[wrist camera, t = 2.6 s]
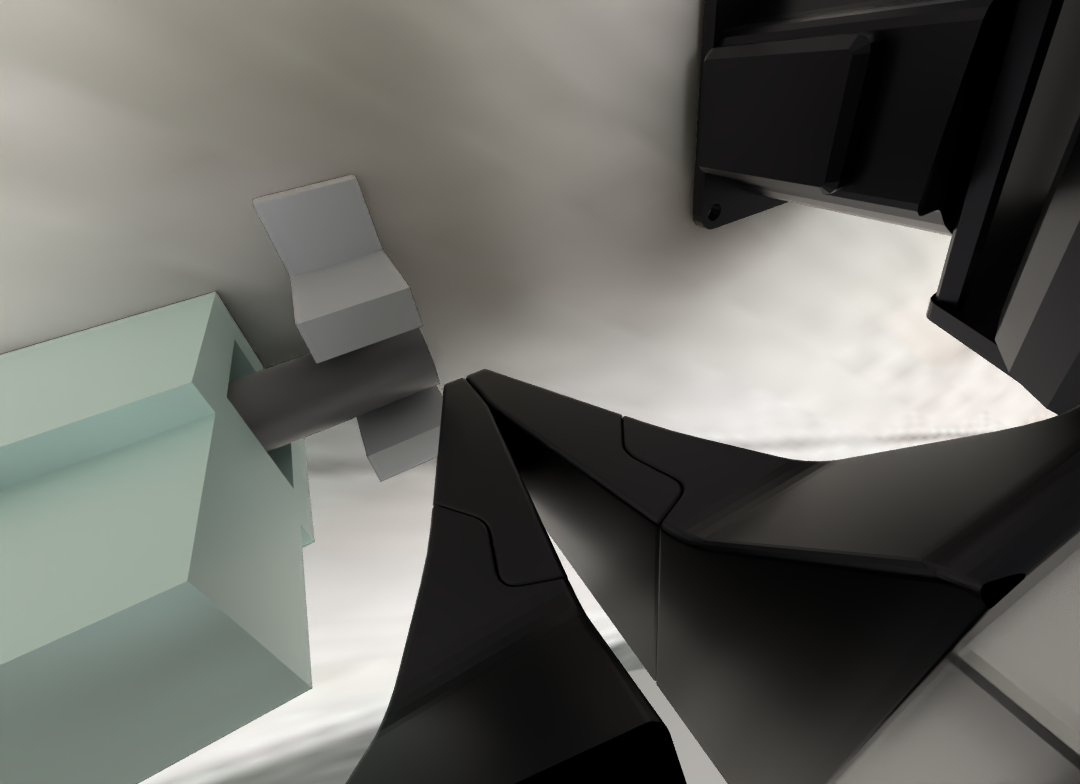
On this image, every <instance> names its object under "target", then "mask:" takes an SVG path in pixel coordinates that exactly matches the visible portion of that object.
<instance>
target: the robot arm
mask: <svg viewBox="0 0 1080 784" xmlns="http://www.w3.org/2000/svg"><path fill="white" fill-rule="evenodd" d="M787 202H793V203H798V204H803V205H807V206H812V207H817V208H822V209H826V210H831V211H836V212H840V213H845V214H850V215H855V216H859V217H864V218H869V219H874V220H878V221H883V222H888V223H892V224H897V225H902V226H907V227H911V228H916V229H921V230H926V231H930V232H935V233H940V234H945V235H949V236H952V238H951V242H950V245H949V249H948V253H947V257H946V260H945V264H944V268H943V271H942V275H941V279H940V282H939V286H938V290H937V292H936V293H935V294H934V295H933V296H932V297H931V299H930V302H929V306H928V310H927V314H926V316H927V318H928V319H929V320H930V321H932V322H933V323H934V324H936V325H937V326H939V327H940V328H942V329H943V330H944V331H946V332H947V333H949V334H950V335H952V336H953V337H954V338H956V339H957V340H959V341H960V342H962V343H963V344H964V345H966V346H967V347H969V348H970V349H972V350H973V351H974V352H976V353H977V354H979V355H980V356H982V357H983V358H985V359H986V360H987V361H989V362H990V363H992V364H993V365H995V366H996V367H997V368H999V369H1000V370H1002V371H1003V372H1005V373H1006V374H1007V375H1009V376H1010V377H1012V378H1013V379H1015V380H1016V381H1017V382H1019V383H1020V384H1021V385H1022V386H1023V387H1024V388H1026V389H1027V390H1028V391H1029V392H1030V393H1031V394H1032V395H1033V396H1034V397H1035V398H1036V399H1037V400H1038V401H1039V402H1040V403H1041V404H1042V405H1043V406H1045V407H1046V408H1047V409H1049V410H1050V411H1052V412H1054V413H1056V414H1058V416H1055V417H1052V418H1049V419H1046V420H1043V421H1039V422H1035V423H1031V424H1027V425H1024V426H1019V427H1015V428H1010V429H1005V430H1000V431H995V432H990V433H984V434H979V435H973V436H968V437H962V438H957V439H951V440H946V441H940V442H935V443H929V444H924V445H918V446H913V447H907V448H901V449H896V450H890V451H885V452H879V453H874V454H868V455H863V456H857V457H852V458H846V459H840V460H832V461H802V460H793V459H788V458H783V457H778V456H774V455H769V454H765V453H761V452H757V451H753V450H748V449H744V448H740V447H736V446H732V445H727V444H723V443H719V442H715V441H711V440H706V439H702V438H698V437H694V436H691V435H687V434H683V433H679V432H675V431H671V430H668V429H665V428H662V427H658V426H655V425H652V424H649V423H645V422H642V421H639V420H636V419H633V418H630V417H627V416H624V417H622V415H621V414H618V413H615V412H612V411H609V410H606V409H603V408H600V407H597V406H594V405H591V404H588V403H585V402H582V401H579V400H576V399H573V398H570V397H567V396H564V395H561V394H558V393H556V392H553V391H550V390H547V389H544V388H541V387H538V386H535V385H532V384H529V383H526V382H523V381H520V380H517V379H514V378H511V377H508V376H505V375H502V374H499V373H496V372H493V371H490V370H487V369H483V370H480V371H478V372H475V373H473V374H470V375H468V376H467V377H466V379H465V378H460V379H458V380H455V381H453V382H450V383H448V384H446V385H445V386H444V391H443V402H442V412H441V423H440V434H439V445H438V456H437V466H436V477H435V488H434V499H433V506H434V507H433V509H432V518H431V528H430V535H429V542H428V550H427V556H426V560H425V565H424V570H423V574H422V579H421V584H420V588H419V592H418V596H417V600H416V604H415V608H414V612H413V616H412V620H411V624H410V628H409V632H408V636H407V640H406V644H405V648H404V652H403V656H402V660H401V664H400V668H399V672H398V676H397V680H396V683H395V687H394V691H393V694H392V697H391V700H390V703H389V706H388V708H387V711H386V713H385V716H384V718H383V721H382V723H381V725H380V727H379V729H378V731H377V733H376V735H375V737H374V739H373V740H372V742H371V744H370V746H369V747H368V749H367V750H366V752H365V753H364V755H363V757H362V758H361V760H360V761H359V763H358V765H357V766H356V768H355V769H354V771H353V773H352V774H351V776H350V777H349V779H348V781H347V782H346V784H687V783H686V780H685V777H684V774H683V771H682V768H681V765H680V762H679V760H678V756H677V753H676V750H675V747H674V744H673V741H672V738H671V735H670V732H669V730H668V728H667V727H666V726H665V724H664V722H663V721H662V720H661V718H660V717H659V716H658V714H657V713H656V711H655V710H654V709H653V707H652V706H651V704H650V703H649V702H648V700H647V699H646V698H645V696H644V695H643V693H642V692H641V690H640V689H639V688H638V687H637V685H636V683H635V682H634V681H633V679H632V678H631V677H630V675H629V674H628V672H627V671H626V670H625V668H624V667H623V665H622V664H621V663H620V661H619V660H618V658H617V657H616V656H615V654H614V653H613V651H612V650H611V649H610V647H609V646H608V644H607V643H606V642H605V640H604V639H603V638H602V636H601V635H600V633H599V632H598V631H597V629H596V628H595V626H594V625H593V624H592V622H591V621H590V619H589V618H588V616H587V615H586V613H585V611H584V609H583V608H582V606H581V604H580V602H579V600H578V598H577V596H576V594H575V592H574V590H573V588H572V586H571V584H570V582H569V581H568V577H567V575H566V573H565V570H564V568H563V566H562V564H561V562H560V560H559V557H558V555H557V553H556V551H555V549H554V547H553V544H552V542H551V540H550V538H549V536H548V533H549V535H550V536H551V537H552V539H553V540H554V542H555V543H556V544H557V546H558V547H559V549H560V550H561V551H562V553H563V554H564V556H565V557H566V558H567V560H568V561H569V562H570V564H571V565H572V567H573V568H574V569H575V571H576V572H577V574H578V575H579V576H580V578H581V579H582V581H583V582H584V583H585V585H586V586H587V588H588V589H589V590H590V592H591V593H592V595H593V596H594V597H595V599H596V600H597V602H598V603H599V604H600V606H601V607H602V609H603V610H604V611H605V613H606V614H607V616H608V617H609V618H610V620H611V621H612V623H613V624H614V625H615V627H616V628H617V630H618V631H619V632H620V634H621V635H622V636H623V638H624V639H625V641H626V642H627V643H628V645H629V646H630V648H631V649H632V650H633V652H634V653H635V655H636V656H637V657H638V659H639V660H640V662H641V663H642V664H643V666H644V667H645V669H646V670H647V671H648V673H649V674H650V676H651V677H652V678H653V680H655V681H656V683H657V686H658V687H659V688H660V690H661V691H662V693H663V694H664V695H665V697H666V698H667V700H668V701H669V702H670V704H671V705H672V706H673V708H674V709H675V711H676V712H677V714H678V715H679V716H680V718H681V719H682V721H683V722H684V723H685V725H686V726H687V728H688V729H689V730H690V732H691V733H692V734H693V736H694V737H695V739H696V740H697V741H698V743H699V744H700V746H701V747H702V748H703V750H704V751H705V753H706V754H707V755H708V757H709V758H710V760H711V761H712V762H713V764H714V765H715V767H716V768H717V769H718V771H719V772H720V774H721V775H722V776H723V778H724V779H725V781H726V782H727V783H728V784H1080V0H705V3H704V21H703V39H702V56H701V74H700V92H699V109H698V127H697V144H696V162H695V180H694V197H693V221H694V223H695V224H696V225H697V226H699V227H703V228H706V229H714V228H717V227H720V226H722V225H725V224H728V223H731V222H734V221H736V220H739V219H742V218H745V217H748V216H750V215H753V214H756V213H759V212H761V211H764V210H767V209H770V208H773V207H775V206H778V205H781V204H784V203H787ZM711 207H712V208H711ZM710 208H711V212H710V214H709V215H708V212H709V210H710ZM546 530H547V531H546ZM547 532H548V533H547Z"/></svg>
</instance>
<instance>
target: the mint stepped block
mask: <svg viewBox="0 0 1080 784" xmlns="http://www.w3.org/2000/svg"><path fill="white" fill-rule="evenodd" d="M263 369H264V367H263V365H262V364H261V362H260V361H259V359H258V357H257V356H256V354H255V353H254V351H253V350H252V348H251V346H250V345H249V343H248V342H247V340H246V338H245V337H244V335H243V334H242V332H241V331H240V329H239V327H238V326H237V324H236V323H235V321H234V319H233V318H232V316H231V315H230V313H229V312H228V310H227V308H226V307H225V305H224V304H223V302H222V300H221V299H220V297H219V296H218V294H217V293H216V292H212V293H209V294H206V295H202V296H199V297H195V298H192V299H189V300H185V301H182V302H178V303H175V304H172V305H168V306H165V307H161V308H158V309H155V310H151V311H148V312H144V313H141V314H138V315H134V316H131V317H127V318H124V319H120V320H117V321H114V322H110V323H107V324H103V325H100V326H97V327H93V328H90V329H86V330H83V331H80V332H76V333H73V334H69V335H66V336H63V337H59V338H56V339H52V340H49V341H46V342H42V343H39V344H35V345H32V346H29V347H25V348H22V349H18V350H15V351H12V352H8V353H5V354H1V355H0V784H138V783H140V782H142V781H144V780H145V779H147V778H149V777H151V776H153V775H155V774H156V773H158V772H160V771H162V770H164V769H166V768H167V767H169V766H171V765H173V764H175V763H177V762H178V761H180V760H182V759H184V758H186V757H188V756H189V755H191V754H193V753H195V752H197V751H198V750H200V749H202V748H204V747H206V746H208V745H209V744H211V743H213V742H215V741H217V740H219V739H220V738H222V737H224V736H226V735H228V734H230V733H231V732H233V731H235V730H237V729H239V728H240V727H242V726H244V725H246V724H248V723H250V722H251V721H253V720H255V719H257V718H259V717H261V716H262V715H264V714H266V713H268V712H270V711H272V710H273V709H275V708H277V707H279V706H281V705H283V704H284V703H286V702H288V701H290V700H292V699H293V698H295V697H297V696H299V695H301V694H303V693H304V692H306V691H308V690H310V689H312V677H311V663H310V649H309V635H308V621H307V607H306V593H305V580H304V566H303V552H302V547H304V546H307V545H309V544H311V543H313V542H314V532H313V522H312V512H311V502H310V492H309V482H308V472H307V462H306V452H305V442H304V438H302V439H299V440H297V441H294V442H292V443H289V444H286V445H284V446H281V447H279V448H276V449H274V450H271V451H269V452H266V450H265V449H264V448H263V446H262V445H261V444H260V442H259V441H258V439H257V438H256V437H255V435H254V434H253V433H252V431H251V430H250V428H249V427H248V426H247V424H246V423H245V422H244V420H243V419H242V417H241V416H240V415H239V413H238V412H237V411H236V409H235V408H234V406H233V405H232V404H231V402H230V401H229V400H228V398H227V390H228V383H229V381H231V380H234V379H237V378H240V377H243V376H246V375H249V374H252V373H255V372H257V371H260V370H263Z"/></svg>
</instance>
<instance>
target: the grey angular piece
mask: <svg viewBox="0 0 1080 784" xmlns="http://www.w3.org/2000/svg"><path fill="white" fill-rule="evenodd" d="M253 206H254V208H255V210H256V212H257V214H258V216H259V218H260V220H261V222H262V224H263V225H264V227H265V229H266V231H267V233H268V235H269V237H270V239H271V241H272V243H273V245H274V247H275V249H276V251H277V253H278V255H279V257H280V259H281V261H282V262H283V264H284V266H285V268H286V270H287V272H288V274H289V276H290V280H291V289H292V298H293V307H294V316H295V325H296V327H297V328H298V330H299V332H300V334H301V336H302V338H303V339H304V341H305V343H306V345H307V347H308V349H309V351H310V352H311V353H309V354H306V355H304V356H301V357H298V358H295V359H292V360H289V361H286V362H283V363H280V364H278V365H275V366H272V367H269V368H266V369H263V370H260V371H257V372H255V373H252V374H249V375H246V376H243V377H240V378H237V379H234V380H231V381H229V383H228V390H227V398H228V400H229V401H230V402H231V404H232V405H233V406H234V408H235V409H236V411H237V412H238V413H239V415H240V416H241V417H242V419H243V420H244V422H245V423H246V424H247V426H248V427H249V428H250V430H251V431H252V433H253V434H254V435H255V437H256V438H257V439H258V441H259V442H260V444H261V445H262V446H263V448H264V449H265V450H266V452H269V451H271V450H274V449H276V448H279V447H281V446H284V445H286V444H289V443H292V442H294V441H297V440H299V439H302V438H304V437H307V436H309V435H312V434H314V433H317V432H319V431H322V430H324V429H327V428H329V427H332V426H334V425H337V424H340V423H342V422H345V421H347V420H350V419H352V418H355V417H357V421H358V425H359V429H360V432H361V436H362V440H363V444H364V447H365V451H366V455H367V458H368V459H369V461H370V463H371V465H372V467H373V469H374V470H375V472H376V474H377V476H378V478H379V480H380V482H381V481H383V480H386V479H388V478H390V477H393V476H395V475H397V474H399V473H402V472H404V471H406V470H408V469H411V468H413V467H415V466H417V465H420V464H422V463H424V462H426V461H429V460H431V459H433V458H435V457H437V456H438V445H439V434H440V423H441V412H442V402H443V397H442V395H441V393H440V391H439V389H438V388H437V386H436V385H438V384H440V383H439V378H438V374H437V371H436V368H435V365H434V363H433V360H432V357H431V355H430V352H429V350H428V347H427V345H426V343H425V340H424V338H423V336H422V334H421V332H420V330H419V328H418V327H421V326H423V324H422V322H421V319H420V316H419V313H418V310H417V307H416V304H415V301H414V298H413V296H412V293H411V290H410V287H409V286H408V284H407V283H406V282H405V280H404V279H403V277H402V276H401V275H400V273H399V272H398V270H397V269H396V268H395V266H394V265H393V263H392V262H391V261H390V259H389V258H388V256H387V255H386V254H385V252H384V251H383V249H382V246H381V244H380V241H379V238H378V235H377V233H376V230H375V227H374V225H373V222H372V219H371V216H370V214H369V211H368V208H367V205H366V203H365V200H364V197H363V194H362V192H361V189H360V186H359V184H358V181H357V178H356V177H355V176H354V175H353V174H352V175H348V176H344V177H340V178H336V179H332V180H327V181H323V182H319V183H315V184H311V185H307V186H303V187H299V188H295V189H291V190H287V191H283V192H279V193H275V194H271V195H267V196H263V197H259V198H254V199H253Z"/></svg>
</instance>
